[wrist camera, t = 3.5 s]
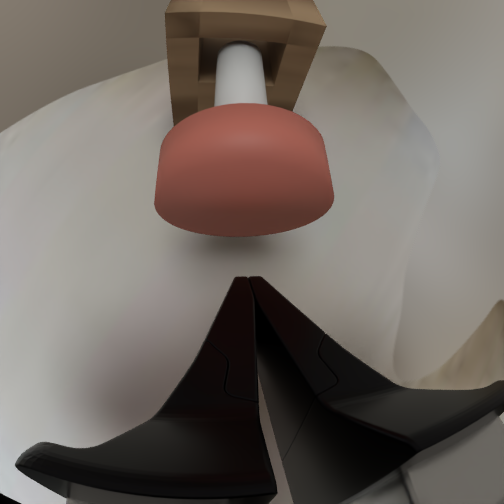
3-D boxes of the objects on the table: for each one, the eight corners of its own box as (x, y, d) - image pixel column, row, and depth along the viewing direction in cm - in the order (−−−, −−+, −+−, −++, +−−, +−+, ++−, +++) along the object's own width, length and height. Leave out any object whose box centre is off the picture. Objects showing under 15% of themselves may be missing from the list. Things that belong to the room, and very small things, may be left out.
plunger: (302, 237, 13) (366, 170, 7) (166, 237, 12) (137, 160, 6) (284, 100, 15) (313, 19, 10) (181, 95, 14) (178, 7, 9)
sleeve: (275, 153, 20) (326, 26, 9) (177, 150, 19) (164, 13, 8) (270, 104, 21) (306, -11, 11) (183, 101, 20) (181, -21, 10)
